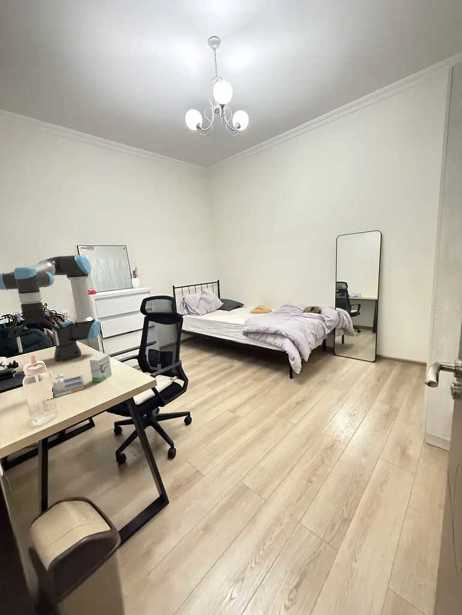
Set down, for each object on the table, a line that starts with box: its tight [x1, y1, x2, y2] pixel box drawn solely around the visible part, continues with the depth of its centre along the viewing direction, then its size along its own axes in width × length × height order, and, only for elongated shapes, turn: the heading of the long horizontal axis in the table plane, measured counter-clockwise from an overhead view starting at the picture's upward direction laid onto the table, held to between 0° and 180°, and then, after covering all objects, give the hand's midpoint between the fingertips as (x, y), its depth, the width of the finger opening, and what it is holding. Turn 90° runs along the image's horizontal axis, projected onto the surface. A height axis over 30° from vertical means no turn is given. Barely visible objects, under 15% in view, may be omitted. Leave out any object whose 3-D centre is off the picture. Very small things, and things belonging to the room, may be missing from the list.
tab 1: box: [55, 372, 65, 384], centre depth 120 cm, size 4×3×5 cm
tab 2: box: [54, 378, 65, 391], centre depth 115 cm, size 4×3×5 cm
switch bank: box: [52, 375, 86, 398], centre depth 120 cm, size 13×12×2 cm
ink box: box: [89, 353, 113, 383], centre depth 127 cm, size 9×5×12 cm, turn 168°
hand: (40, 348), depth 114 cm, fingers open, 13 cm apart
